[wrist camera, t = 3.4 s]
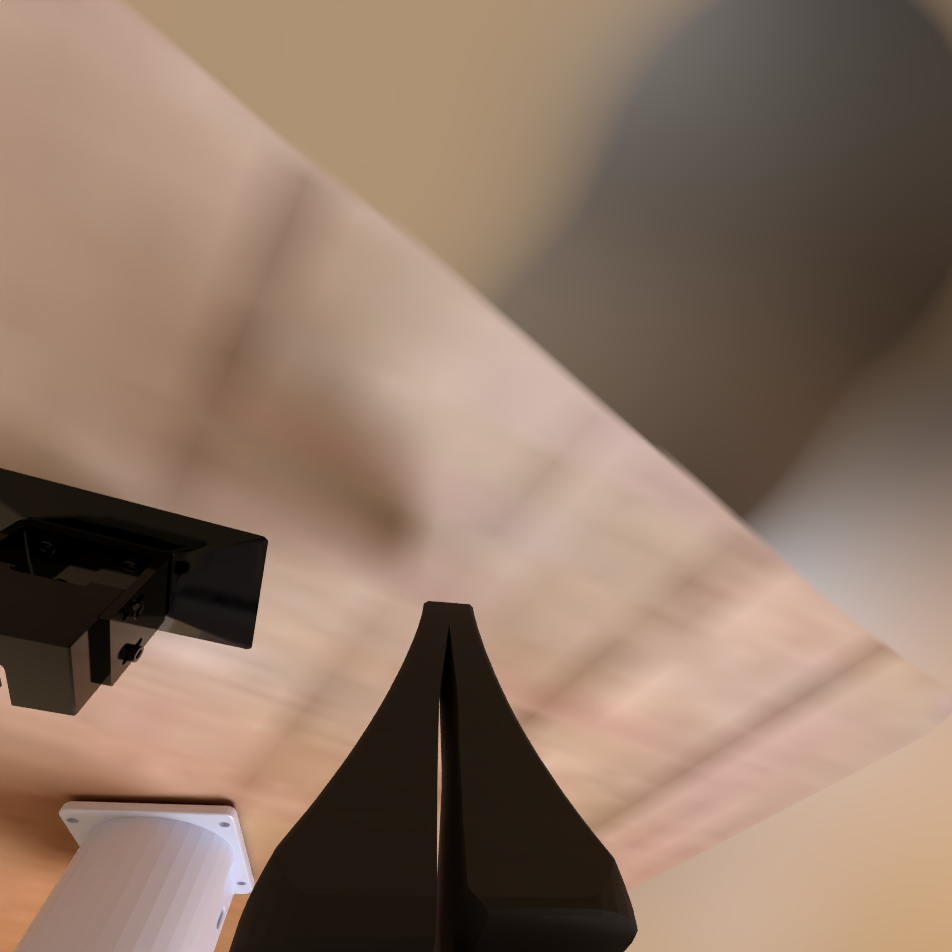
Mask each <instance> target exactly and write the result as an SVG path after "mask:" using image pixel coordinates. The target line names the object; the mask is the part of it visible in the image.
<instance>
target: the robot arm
mask: <svg viewBox="0 0 952 952" xmlns="http://www.w3.org/2000/svg"><path fill="white" fill-rule="evenodd" d="M439 697H440V728H441V760H442V793H441V814H440V834H439V854H438V873H437V769H438V722H439ZM59 816H60V817H61V819H62V820H63V822H64V823H65V825H66V826H67V828H68V830H69V831H70V833H71V834H72V836H73V837H74V839H75V840H76V842H77V843H78V845H79V846H80V847H79V849H78V850H77V852H76V853H75V855H74V857H73V858H72V860H71V861H70V863H69V864H68V866H67V868H66V869H65V871H64V872H63V874H62V876H61V877H60V879H59V880H58V882H57V883H56V885H55V887H54V888H53V890H52V891H51V893H50V894H49V896H48V898H47V899H46V901H45V902H44V904H43V905H42V907H41V909H40V910H39V912H38V913H37V915H36V916H35V918H34V920H33V921H32V923H31V924H30V926H29V928H28V929H27V931H26V932H25V934H24V935H23V937H22V939H21V940H20V942H19V943H18V945H17V946H16V948H15V950H14V951H13V952H214V949H215V946H216V943H217V940H218V938H219V935H220V932H221V929H222V926H223V923H224V920H225V918H226V915H227V912H228V909H229V906H230V903H231V900H232V898H233V895H234V894H247V893H250V892H251V891H252V893H251V895H250V897H249V899H248V901H247V903H246V906H245V908H244V910H243V913H242V915H241V918H240V920H239V923H238V926H237V929H236V932H235V935H234V938H233V941H232V944H231V948H230V951H229V952H624V951H625V950H626V949H627V947H628V946H629V945H630V944H631V943H632V941H633V939H634V938H635V936H636V933H637V931H638V930H637V925H636V920H635V916H634V911H633V908H632V905H631V901H630V898H629V896H628V893H627V890H626V887H625V884H624V882H623V879H622V876H621V874H620V871H619V869H618V866H617V864H616V862H615V859H614V858H613V856H612V855H611V854H610V853H609V851H608V850H607V849H606V848H605V847H604V845H603V844H602V843H601V842H600V840H599V839H598V838H597V837H596V836H595V834H594V833H593V832H592V830H591V829H590V828H589V827H588V825H587V824H586V823H585V821H584V820H583V819H582V818H581V816H580V815H579V814H578V812H577V811H576V810H575V808H574V807H573V805H572V804H571V803H570V801H569V800H568V799H567V797H566V796H565V795H564V793H563V792H562V790H561V789H560V787H559V786H558V784H557V783H556V781H555V780H554V778H553V777H552V775H551V774H550V772H549V771H548V770H547V768H546V767H545V765H544V764H543V762H542V761H541V759H540V758H539V756H538V754H537V753H536V751H535V749H534V748H533V746H532V744H531V743H530V741H529V740H528V738H527V736H526V734H525V733H524V731H523V729H522V727H521V726H520V724H519V722H518V720H517V718H516V717H515V715H514V713H513V711H512V709H511V707H510V705H509V703H508V701H507V699H506V697H505V695H504V693H503V691H502V688H501V686H500V684H499V682H498V680H497V677H496V675H495V673H494V670H493V668H492V666H491V663H490V661H489V658H488V656H487V653H486V651H485V648H484V645H483V642H482V639H481V636H480V634H479V630H478V627H477V624H476V620H475V616H474V612H473V607H472V606H471V605H470V604H458V603H446V602H433V601H427V602H426V603H424V606H423V612H422V616H421V620H420V623H419V626H418V629H417V632H416V634H415V637H414V640H413V642H412V644H411V647H410V649H409V651H408V653H407V656H406V658H405V660H404V662H403V664H402V667H401V669H400V670H399V672H398V674H397V676H396V678H395V680H394V682H393V684H392V686H391V688H390V690H389V692H388V693H387V695H386V697H385V699H384V700H383V702H382V704H381V706H380V707H379V709H378V711H377V712H376V714H375V716H374V717H373V719H372V721H371V722H370V724H369V725H368V727H367V729H366V730H365V732H364V733H363V735H362V736H361V738H360V739H359V741H358V742H357V744H356V745H355V747H354V748H353V750H352V751H351V753H350V754H349V755H348V757H347V758H346V760H345V761H344V763H343V764H342V765H341V767H340V768H339V769H338V771H337V772H336V773H335V775H334V776H333V777H332V779H331V780H330V781H329V783H328V784H327V785H326V787H325V788H324V789H323V791H322V792H321V793H320V795H319V796H318V797H317V799H316V800H315V801H314V802H313V804H312V805H311V806H310V807H309V809H308V810H307V811H306V812H305V813H304V815H303V816H302V817H301V818H300V819H299V821H298V822H297V823H296V824H295V825H294V827H293V828H292V829H291V830H290V831H289V833H288V834H287V835H286V836H285V837H284V839H283V840H282V841H281V842H280V843H279V845H278V846H277V847H276V849H275V850H274V852H273V854H272V856H271V858H270V859H269V861H268V863H267V865H266V866H265V868H264V870H263V872H262V873H261V875H260V877H259V879H258V881H257V883H256V885H255V887H254V889H253V886H254V879H253V875H252V871H251V867H250V863H249V859H248V855H247V851H246V847H245V843H244V839H243V835H242V831H241V827H240V823H239V819H238V815H237V811H236V810H235V809H234V808H233V807H230V806H218V805H185V804H153V803H120V802H87V801H69V802H66V803H65V804H64V805H63V806H62V808H61V809H60V811H59ZM252 889H253V890H252Z"/></svg>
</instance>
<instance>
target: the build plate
mask: <svg viewBox="0 0 952 952" xmlns="http://www.w3.org/2000/svg"><path fill="white" fill-rule="evenodd" d="M267 545H268V540H267V539H266V538H265V537H263V536H260V535H256V534H252V533H248V532H244V531H240V530H237V529H233V528H229V527H225V526H221V525H217V524H213V523H210V522H206V521H202V520H198V519H194V518H190V517H186V516H183V515H179V514H175V513H171V512H167V511H163V510H160V509H156V508H152V507H148V506H144V505H140V504H136V503H133V502H129V501H125V500H121V499H117V498H113V497H109V496H106V495H102V494H98V493H94V492H90V491H86V490H82V489H79V488H75V487H71V486H67V485H63V484H59V483H55V482H52V481H48V480H44V479H40V478H36V477H32V476H28V475H25V474H21V473H17V472H13V471H9V470H5V469H1V468H0V665H1V666H3V668H4V669H5V673H6V678H7V683H8V688H9V694H10V699H11V704H12V705H14V706H20V707H26V708H32V709H38V710H43V711H49V712H55V713H61V714H67V715H76V714H77V713H78V712H79V711H80V709H81V708H82V707H83V706H84V705H85V703H86V702H87V701H88V700H89V698H90V697H91V696H92V695H93V694H94V692H95V691H96V690H97V689H98V688H99V686H100V685H101V684H102V685H108V686H113V685H114V683H115V682H116V681H117V680H118V678H119V677H120V676H121V675H122V673H123V672H124V671H125V670H126V668H127V667H128V666H129V665H130V663H131V662H136V661H137V660H138V659H139V658H140V657H141V655H142V653H143V650H144V646H145V645H146V643H147V642H148V641H149V640H150V638H151V637H152V636H153V635H154V633H155V632H156V631H157V630H160V631H165V632H170V633H174V634H179V635H184V636H188V637H193V638H198V639H202V640H207V641H212V642H216V643H221V644H225V645H230V646H235V647H239V648H244V649H250V648H251V647H252V642H253V636H254V629H255V623H256V616H257V610H258V603H259V597H260V590H261V584H262V577H263V571H264V564H265V558H266V551H267ZM1 686H2V684H1V679H0V687H1Z"/></svg>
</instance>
